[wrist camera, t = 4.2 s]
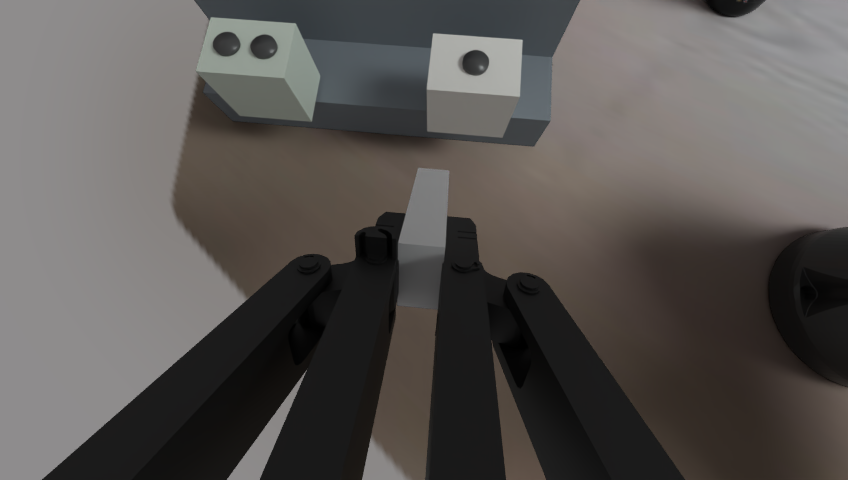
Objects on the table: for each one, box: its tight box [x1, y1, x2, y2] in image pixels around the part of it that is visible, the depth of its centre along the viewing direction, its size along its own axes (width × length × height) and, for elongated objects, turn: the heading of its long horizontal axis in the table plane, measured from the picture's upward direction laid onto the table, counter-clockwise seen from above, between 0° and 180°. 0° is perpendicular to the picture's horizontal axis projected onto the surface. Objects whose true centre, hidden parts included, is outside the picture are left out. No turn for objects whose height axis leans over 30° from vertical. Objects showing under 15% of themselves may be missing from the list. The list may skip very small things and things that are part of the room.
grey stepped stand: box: [195, 0, 580, 146], centre depth 31 cm, size 14×34×14 cm, turn 84°
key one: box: [427, 33, 523, 138], centre depth 28 cm, size 5×7×6 cm
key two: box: [196, 17, 320, 122], centre depth 29 cm, size 5×7×6 cm
